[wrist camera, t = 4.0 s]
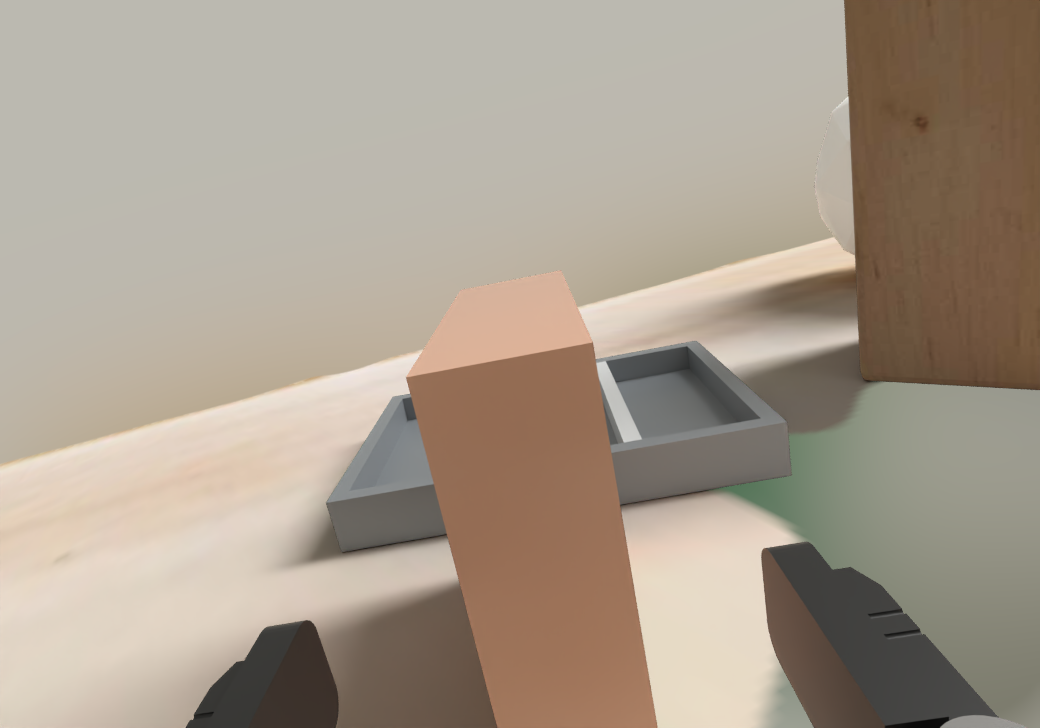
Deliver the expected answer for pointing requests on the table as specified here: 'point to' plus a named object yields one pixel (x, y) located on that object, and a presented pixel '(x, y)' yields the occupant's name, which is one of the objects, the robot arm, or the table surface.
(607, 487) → the tan brick
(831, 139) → the geometric form
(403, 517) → the tray
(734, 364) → the table surface
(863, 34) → the wooden block
